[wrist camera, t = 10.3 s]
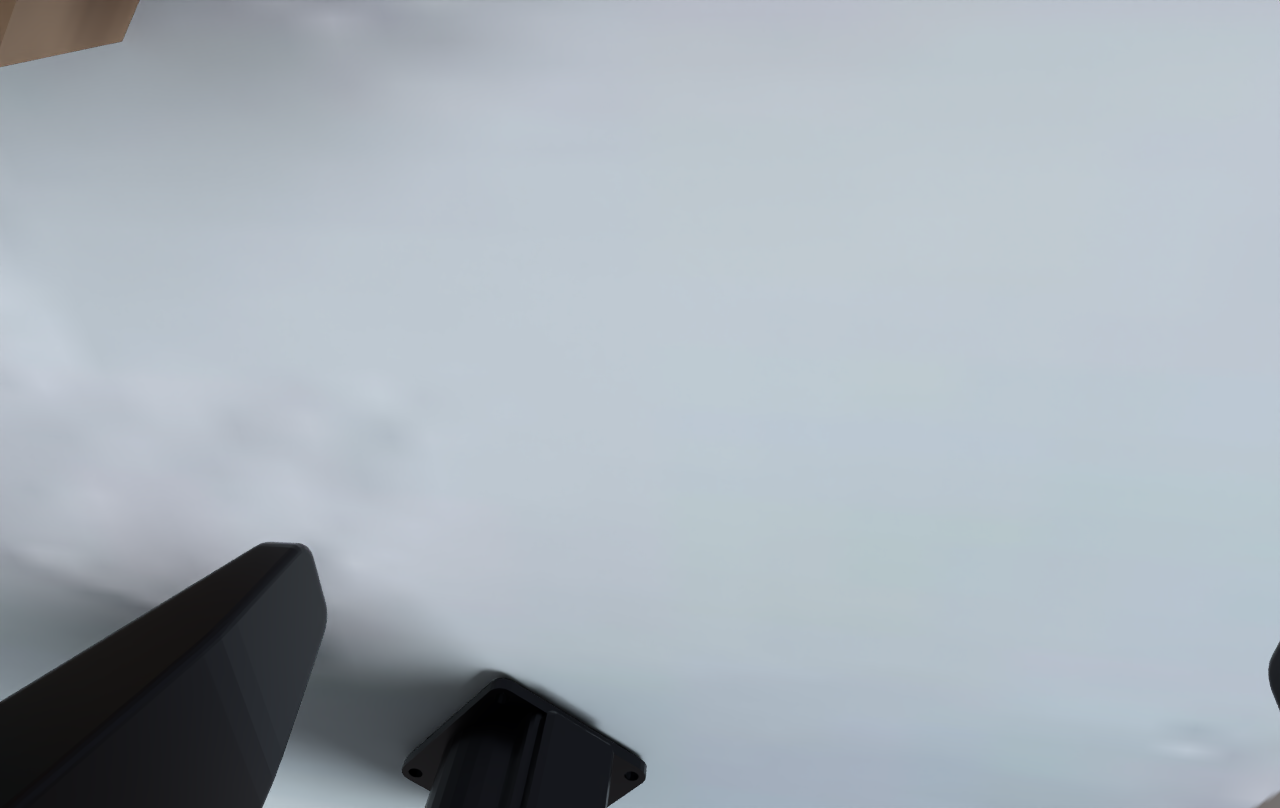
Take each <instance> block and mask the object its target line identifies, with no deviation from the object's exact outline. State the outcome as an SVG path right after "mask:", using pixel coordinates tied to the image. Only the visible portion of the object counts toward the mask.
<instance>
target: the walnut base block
mask: <svg viewBox="0 0 1280 808" xmlns="http://www.w3.org/2000/svg"><path fill="white" fill-rule="evenodd" d="M138 3H139V0H0V67H3V66H8V65H12V64H17V63H22V62H27V61H31V60H36V59H41V58H46V57H50V56H55V55H60V54H64V53H69V52H74V51H79V50H83V49H88V48H93V47H98V46H102V45H107V44H112V43H117V42H121V41H122V40H123V38H124V36H125V33H126V31H127V29H128V26H129V24H130V22H131V19H132V17H133V15H134V12H135V10H136V7H137V5H138Z"/></svg>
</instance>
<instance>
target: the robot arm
mask: <svg viewBox="0 0 1280 808" xmlns="http://www.w3.org/2000/svg"><path fill="white" fill-rule="evenodd" d="M326 623H327V607H326V602H325V599H324V595H323V591H322V588H321V584H320V580H319V576H318V573H317V569H316V565H315V562H314V558H313V555H312V553H311V551H310V550H309V548H308V547H307V546H305V545H303V544H300V543H283V542H265V543H261V544H259V545H257V546H255V547H254V548H252V549H250V550H249V551H247V552H245V553H244V554H242V555H241V556H239V557H237V558H236V559H234V560H232V561H231V562H229V563H227V564H226V565H224V566H223V567H221V568H219V569H218V570H216V571H214V572H213V573H211V574H209V575H208V576H206V577H204V578H203V579H201V580H200V581H198V582H196V583H195V584H193V585H191V586H190V587H188V588H186V589H185V590H183V591H181V592H180V593H178V594H177V595H175V596H173V597H172V598H170V599H168V600H167V601H165V602H163V603H162V604H160V605H158V606H157V607H155V608H154V609H152V610H150V611H149V612H147V613H145V614H144V615H142V616H140V617H139V618H137V619H135V620H134V621H132V622H131V623H129V624H127V625H126V626H124V627H122V628H121V629H119V630H117V631H116V632H114V633H112V634H111V635H109V636H108V637H106V638H104V639H103V640H101V641H99V642H98V643H96V644H94V645H93V646H91V647H90V648H88V649H86V650H85V651H83V652H81V653H80V654H78V655H76V656H75V657H73V658H71V659H70V660H68V661H67V662H65V663H63V664H62V665H60V666H58V667H57V668H55V669H53V670H52V671H50V672H48V673H47V674H45V675H44V676H42V677H40V678H39V679H37V680H35V681H34V682H32V683H30V684H29V685H27V686H25V687H24V688H22V689H20V690H19V691H17V692H16V693H14V694H12V695H11V696H9V697H7V698H6V699H4V700H2V701H1V702H0V808H262V807H263V804H264V802H265V800H266V797H267V795H268V793H269V791H270V788H271V786H272V784H273V781H274V779H275V776H276V773H277V770H278V768H279V765H280V762H281V760H282V757H283V754H284V751H285V748H286V745H287V742H288V739H289V736H290V733H291V730H292V727H293V724H294V721H295V718H296V716H297V713H298V710H299V707H300V704H301V701H302V698H303V695H304V692H305V689H306V686H307V683H308V680H309V677H310V674H311V671H312V668H313V665H314V662H315V659H316V656H317V653H318V650H319V647H320V644H321V641H322V638H323V635H324V632H325V628H326ZM1268 671H1269V682H1270V687H1271V690H1272V693H1273V695H1274V698H1275V700H1276V703H1277V705H1278V708H1279V710H1280V642H1279V644H1278V645H1277V647H1276V649H1275V651H1274V653H1273V655H1272V657H1271V659H1270V663H1269V669H1268ZM646 767H647V766H646V764H645V762H644V761H643V760H641V759H640V758H638V757H636V756H635V755H633V754H632V753H630V752H628V751H627V750H625V749H623V748H622V747H620V746H618V745H617V744H615V743H614V742H612V741H610V740H609V739H607V738H605V737H604V736H602V735H600V734H599V733H597V732H595V731H594V730H592V729H591V728H589V727H587V726H586V725H584V724H582V723H581V722H579V721H577V720H576V719H574V718H572V717H571V716H569V715H568V714H566V713H564V712H563V711H561V710H559V709H558V708H556V707H554V706H553V705H551V704H550V703H548V702H546V701H545V700H543V699H541V698H540V697H538V696H536V695H535V694H533V693H531V692H530V691H528V690H527V689H525V688H523V687H522V686H520V685H518V684H517V683H515V682H513V681H511V680H509V679H503V678H501V679H496V680H494V681H492V682H491V683H490V684H489V685H488V686H487V687H486V688H484V689H483V690H482V691H481V692H480V693H479V694H478V695H477V696H475V697H474V698H473V699H472V700H471V701H470V702H469V703H467V704H466V705H465V706H464V707H463V708H462V709H461V710H460V711H458V712H457V713H456V714H455V715H454V716H453V717H452V718H451V719H449V720H448V721H447V722H446V723H445V724H444V725H443V726H442V727H440V728H439V729H438V730H437V731H436V732H435V733H434V734H432V735H431V736H430V737H429V738H428V739H427V740H426V741H425V742H423V743H422V744H421V745H420V746H419V747H418V748H417V749H416V750H414V751H413V752H412V753H411V754H410V755H409V756H408V757H407V758H406V760H405V762H404V765H403V768H402V773H403V775H404V776H405V777H406V778H408V779H409V780H411V781H413V782H415V783H416V784H418V785H420V786H422V787H424V788H425V789H427V790H429V791H430V794H429V797H428V800H427V803H426V806H425V808H607V807H608V806H610V805H611V804H613V803H614V802H615V801H617V800H618V799H620V798H621V797H623V796H624V795H626V794H627V793H628V792H630V791H631V790H633V789H634V788H636V787H637V786H639V785H640V784H641V783H643V782H644V781H645V778H646Z"/></svg>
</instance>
